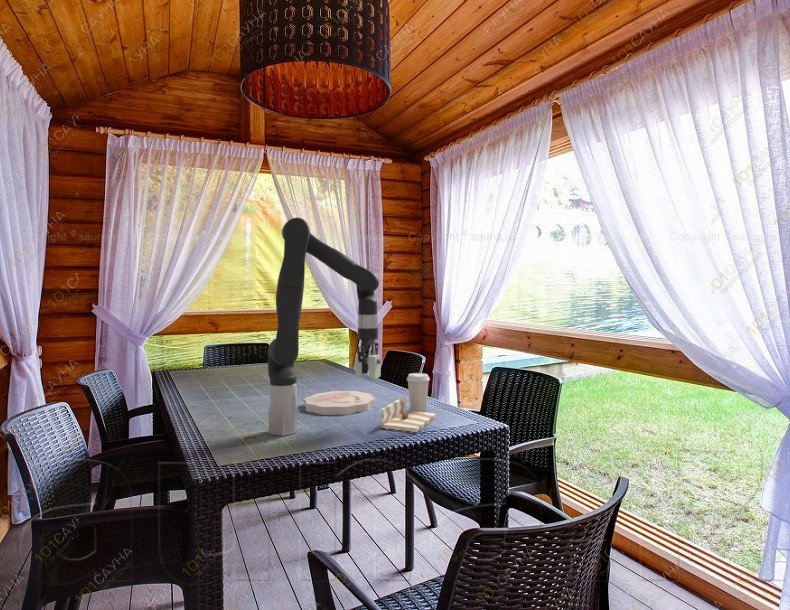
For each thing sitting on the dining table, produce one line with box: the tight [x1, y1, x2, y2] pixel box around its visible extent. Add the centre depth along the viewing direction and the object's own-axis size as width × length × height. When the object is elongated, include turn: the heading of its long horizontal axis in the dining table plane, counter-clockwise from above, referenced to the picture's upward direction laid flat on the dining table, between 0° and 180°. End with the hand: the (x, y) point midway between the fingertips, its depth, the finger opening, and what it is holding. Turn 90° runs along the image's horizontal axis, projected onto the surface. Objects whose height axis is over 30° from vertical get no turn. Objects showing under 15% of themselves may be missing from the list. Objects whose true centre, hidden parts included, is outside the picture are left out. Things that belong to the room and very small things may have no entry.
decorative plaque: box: [303, 390, 376, 416], centre depth 211 cm, size 30×4×30 cm
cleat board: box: [380, 396, 437, 433], centre depth 185 cm, size 22×14×7 cm, turn 158°
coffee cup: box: [406, 372, 431, 413], centre depth 203 cm, size 10×10×15 cm
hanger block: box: [354, 354, 382, 380], centre depth 183 cm, size 5×9×8 cm, turn 68°
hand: (368, 371), depth 183 cm, fingers closed on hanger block, 5 cm apart
